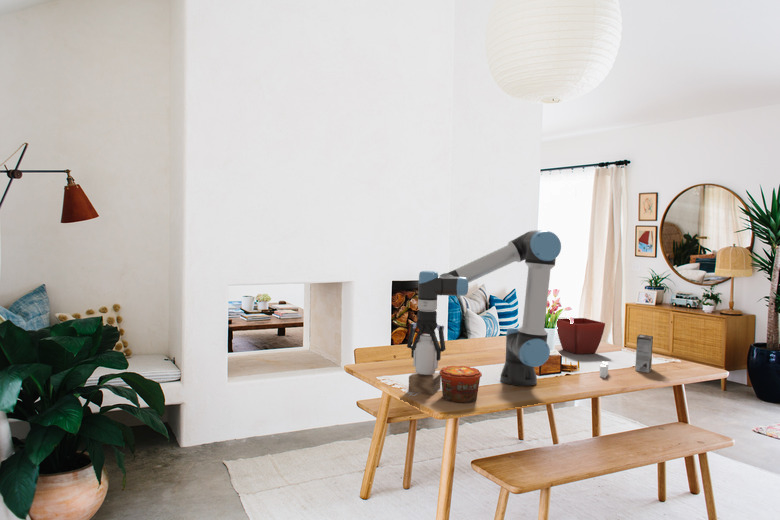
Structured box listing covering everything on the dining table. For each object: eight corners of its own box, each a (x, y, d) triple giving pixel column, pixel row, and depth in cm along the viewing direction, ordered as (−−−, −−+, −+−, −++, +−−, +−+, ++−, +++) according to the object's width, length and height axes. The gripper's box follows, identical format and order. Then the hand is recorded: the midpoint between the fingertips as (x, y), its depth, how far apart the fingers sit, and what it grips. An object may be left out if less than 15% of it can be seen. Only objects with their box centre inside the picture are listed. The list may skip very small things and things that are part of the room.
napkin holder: (601, 370, 264) (601, 359, 263) (623, 376, 254) (623, 364, 254) (581, 374, 255) (582, 362, 255) (603, 380, 246) (604, 368, 245)
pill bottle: (434, 375, 217) (435, 337, 216) (413, 374, 218) (414, 336, 218) (436, 371, 225) (437, 334, 224) (416, 369, 226) (417, 332, 225)
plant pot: (553, 348, 311) (554, 318, 310) (582, 347, 316) (583, 317, 316) (574, 355, 293) (575, 324, 292) (604, 354, 298) (606, 323, 297)
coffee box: (637, 367, 272) (638, 334, 271) (651, 369, 268) (653, 335, 268) (634, 370, 264) (636, 336, 263) (649, 372, 261) (651, 338, 260)
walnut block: (440, 388, 225) (440, 373, 224) (432, 394, 215) (433, 379, 215) (416, 385, 228) (417, 370, 228) (408, 391, 219) (409, 376, 219)
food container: (430, 395, 215) (431, 367, 214) (462, 390, 223) (463, 363, 223) (456, 407, 201) (457, 377, 201) (489, 400, 210) (490, 372, 209)
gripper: (399, 309, 221) (397, 366, 222) (450, 313, 213) (448, 372, 214) (405, 307, 227) (404, 362, 229) (455, 311, 220) (453, 368, 221)
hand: (425, 367), depth 221 cm, fingers closed on pill bottle, 8 cm apart
